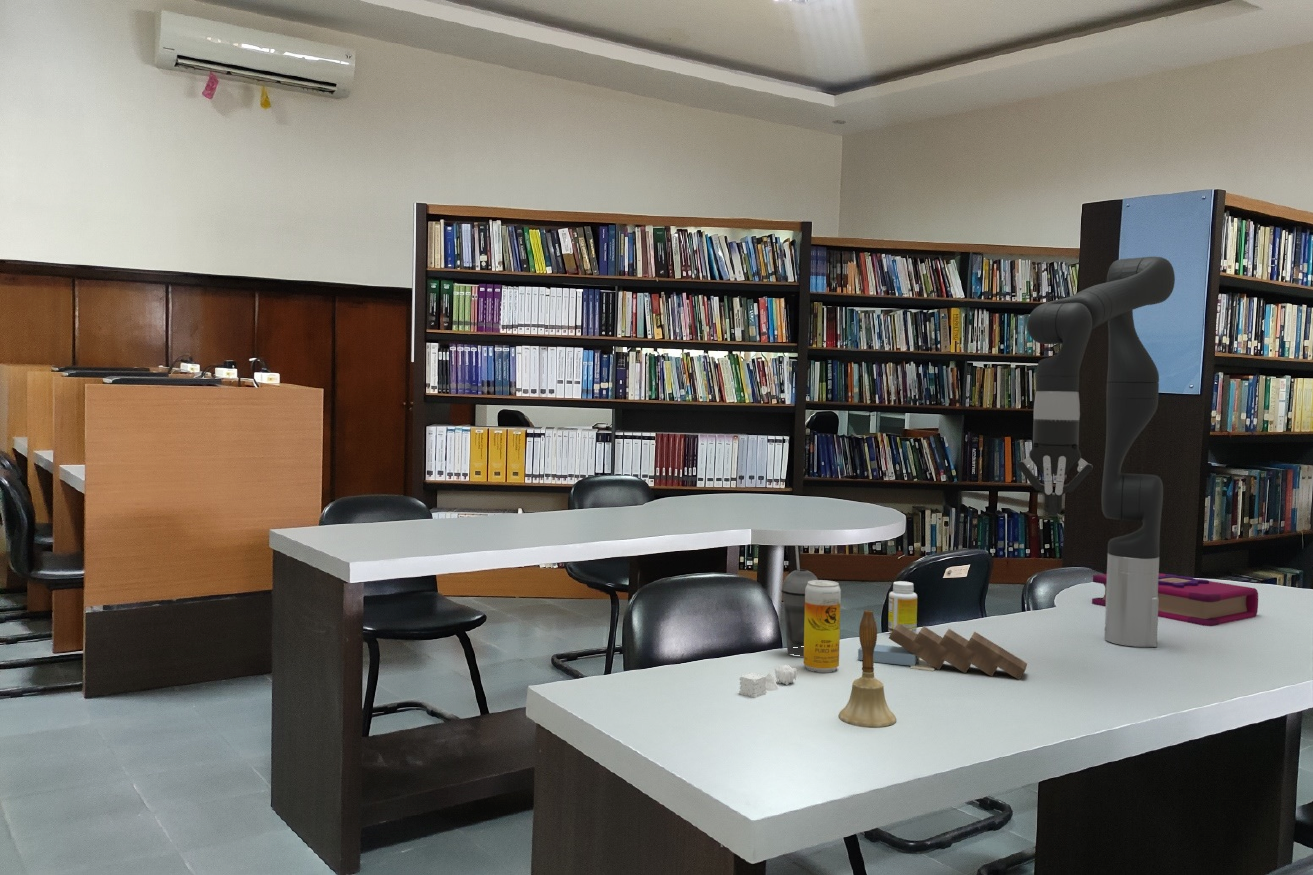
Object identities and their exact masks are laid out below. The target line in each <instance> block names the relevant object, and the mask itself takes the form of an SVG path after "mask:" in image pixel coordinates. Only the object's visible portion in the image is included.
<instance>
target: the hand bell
mask: <svg viewBox="0 0 1313 875" xmlns="http://www.w3.org/2000/svg"><path fill="white" fill-rule="evenodd" d="M859 623H860V624H859V628H858V629H859V630H858V637H859V644H860V647H862V652H863V661H861V662H862V663H861V664H862V665H861V671H862V672H861V673H862V675H861V676H860V677H859V678H857V679H854V680H853V681H852V686H851V691H850V696H849V698H848V701H847V703H846V705H845V706H844V707H843V708H841V710H840V711H839V712H838V718H839V719H840V721H842V722H844V723H847V724H849V725H853V726H856V727H863V728H885V727H890V726H891V725H894V724H895V723H896V722H897V718H896V715H895V714H894V713H893V711H891V709H890V707H889V705H888V703H887V700H886V696H885V688H884V683H883V682H882V681H881V680H879V679H877V678H876V677H875V668H874V663H875V662H873V653H874V649H875V646H876V645H877V640H878V626H877V622H876V619H875V617H874V612H873V610H871V609H865V610H863V614H862V616H861V620H860V622H859Z"/></svg>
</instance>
